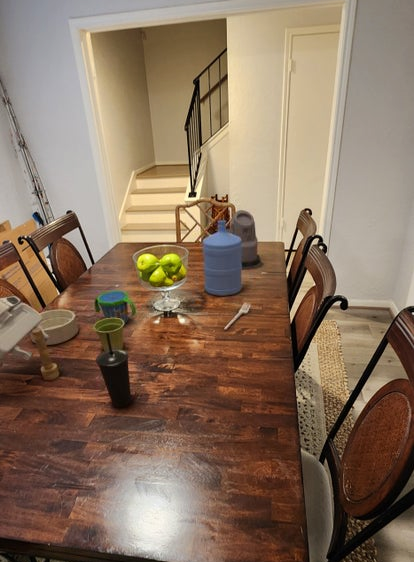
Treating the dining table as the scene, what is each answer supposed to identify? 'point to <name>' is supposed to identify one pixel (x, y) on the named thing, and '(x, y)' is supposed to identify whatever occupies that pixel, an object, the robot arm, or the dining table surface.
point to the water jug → (222, 262)
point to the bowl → (58, 326)
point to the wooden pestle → (45, 356)
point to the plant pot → (110, 332)
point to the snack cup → (115, 305)
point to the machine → (246, 238)
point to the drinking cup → (115, 374)
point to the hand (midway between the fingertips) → (39, 348)
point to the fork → (239, 314)
